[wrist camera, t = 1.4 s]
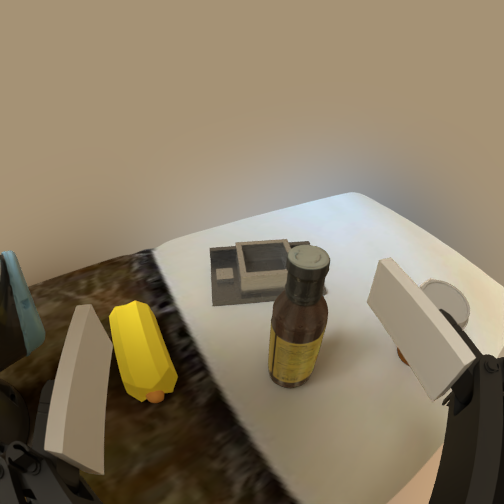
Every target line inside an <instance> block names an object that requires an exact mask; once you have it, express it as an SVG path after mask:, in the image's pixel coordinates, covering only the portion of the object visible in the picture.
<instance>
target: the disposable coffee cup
mask: <svg viewBox="0 0 504 504" xmlns="http://www.w3.org/2000/svg"><path fill="white" fill-rule="evenodd" d="M420 289H421V290H422V291H423V292H424V294H425V295H426V296H427V297H428V298H429V299H430V300H431V302H432V303H433V304H434V305H435V306H436V307H437V309H438V310H439V309H443V310H444V311H446V312H447V313H449V314H450V315H451V316H452V317H453V318H454V320H455V321H456V322H457V324H459V326H460V327H461V328H462V330H463V329H464V328H465V327H466V325H467V323H468V317H469V314H470V307H469V303H468V301H467V299H466V298H465V296H464V295H463V294H462V293H461V292H460V291H459V290H458V289H457V288H456V287H454V286H453V285H451V284H449V283H447V282H444V281H439V280H431V281H428V282H426V283H425V284H424V285H423V286H421V287H420ZM397 352H398V355H399V357H400V359H401V360H402V361H403V362H404V363H405V364H407V365H408V366H410V365H409V364H408V362H407V361H406V359H405V358H404V356H403V355H402V353H401V351H400V350H399V348H398V347H397Z"/></svg>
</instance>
